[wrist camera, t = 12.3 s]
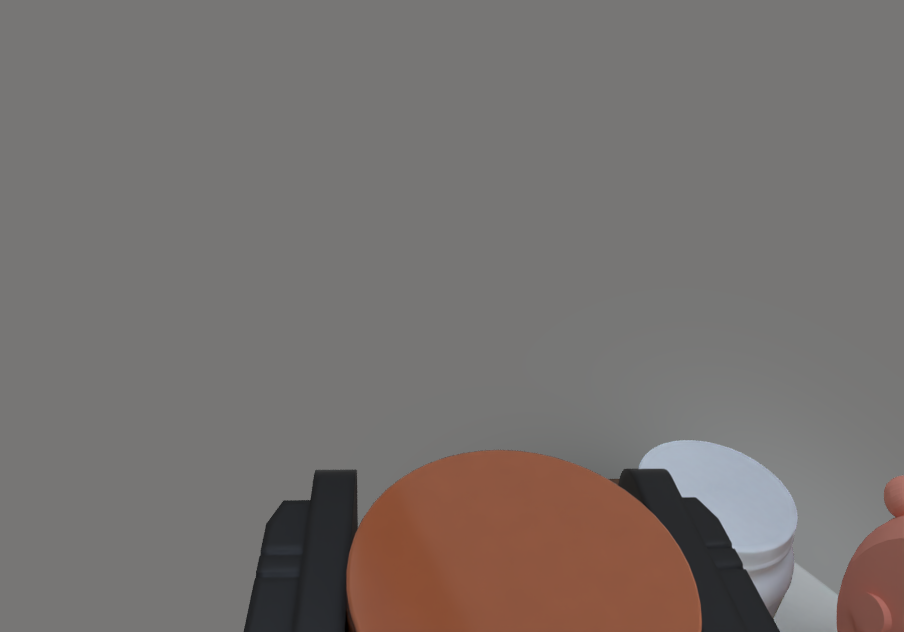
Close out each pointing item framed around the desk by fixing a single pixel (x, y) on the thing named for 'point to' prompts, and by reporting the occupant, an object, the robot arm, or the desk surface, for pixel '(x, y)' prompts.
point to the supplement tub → (738, 507)
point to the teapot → (877, 574)
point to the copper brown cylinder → (515, 553)
